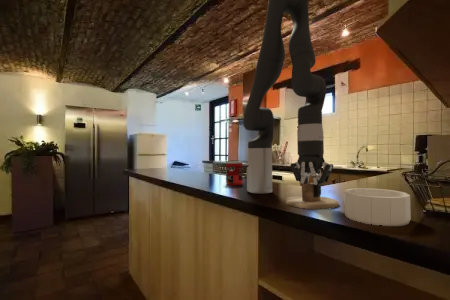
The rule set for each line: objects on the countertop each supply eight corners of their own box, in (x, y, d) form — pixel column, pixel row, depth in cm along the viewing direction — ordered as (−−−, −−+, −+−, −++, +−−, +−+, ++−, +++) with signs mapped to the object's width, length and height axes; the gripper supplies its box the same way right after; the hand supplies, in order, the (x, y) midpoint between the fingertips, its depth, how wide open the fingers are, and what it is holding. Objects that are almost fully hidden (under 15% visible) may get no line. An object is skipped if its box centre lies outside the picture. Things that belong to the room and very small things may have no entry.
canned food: (224, 183, 123) (223, 161, 123) (239, 183, 126) (238, 161, 126) (229, 185, 116) (228, 162, 116) (245, 184, 118) (244, 161, 118)
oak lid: (275, 203, 77) (275, 183, 77) (304, 197, 86) (304, 179, 86) (320, 212, 65) (320, 189, 65) (348, 203, 74) (347, 183, 74)
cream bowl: (334, 217, 60) (334, 192, 60) (359, 208, 68) (358, 186, 68) (397, 230, 50) (396, 200, 50) (417, 218, 58) (416, 192, 58)
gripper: (283, 140, 79) (284, 195, 79) (325, 138, 68) (326, 201, 68) (298, 140, 83) (299, 192, 83) (338, 138, 72) (340, 198, 72)
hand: (311, 196), depth 75 cm, fingers closed on oak lid, 3 cm apart
